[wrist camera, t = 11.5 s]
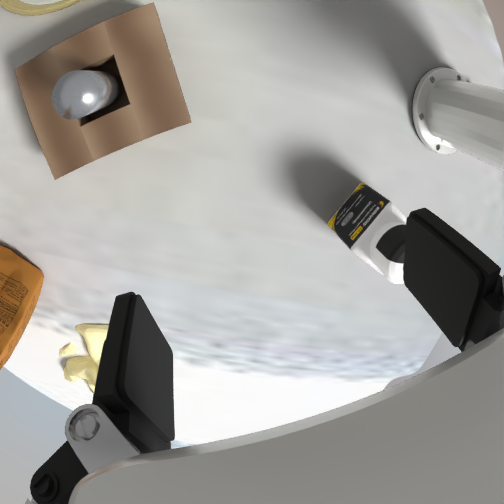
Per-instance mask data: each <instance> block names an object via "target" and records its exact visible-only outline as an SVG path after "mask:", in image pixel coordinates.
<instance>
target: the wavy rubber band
mask: <svg viewBox="0 0 504 504" xmlns="http://www.w3.org/2000/svg"><path fill="white" fill-rule="evenodd" d="M80 1H82V0H62V1H59V2H56V3H52V4H45V5H31V4H26V3H23V2H20V1H19V0H0V5H1V6H2V7H4V8H5V9H6V10H8V11H10V12H12V13H15V14H19V15H26V16H35V15H43V14H48V13H52V12H56V11H59V10H62V9H65V8H67V7H70V6H72V5H74V4H76V3H78V2H80Z"/></svg>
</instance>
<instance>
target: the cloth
mask: <svg viewBox="0 0 504 504" xmlns="http://www.w3.org/2000/svg"><path fill="white" fill-rule="evenodd" d="M108 327H109V325H93V324H81V325H77V326H76V327H75V329H76V331H77V332H79V333H80V334H81V335H82V336H83V337H84V339H85V342H86V344H87V349H88V352H89V355H90V356H80V357H73V358H70V359H68V361H67V362H66V366H65V367H64V368H63V369H64V377H65V379H66V380H68V381H71V382H75V381H77V380H78V379H79V378H82V379H86V380H87V382H88V385H89V387H90V388H91V389H92V391H93V393H94V389H95V384H96V378H97V373H98V368H99V363H100V358H101V353H102V348H103V344H104V341H105V340H106V336H107V331H108ZM77 351H78V349H77V347H75V346H74V345H72V344H71V343H70V344H68V345H67V346H65V347H63V348H61V349H60V351H59V355H60V356H61V355H70V354H76V353H77Z"/></svg>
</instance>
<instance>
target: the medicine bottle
mask: <svg viewBox="0 0 504 504" xmlns="http://www.w3.org/2000/svg"><path fill="white" fill-rule="evenodd" d="M406 220H407V218H406V217H405V216H404V215H403V214H402V213H401V211H400V210H399V209H398V208H397V207H396V206H395V205H394V204H393V203H392V202H391V201H389V200H388V199H387V198H385V197H384V196H382V195H381V194H379V193H378V192H376V191H375V190H374V189H372V188H371V187H369V186H368V185H366V184H365V183H363V182H361V183H360V184H359V185H358V186H357V187H356V189H355V190H354V191H353V192H352V193H351V195H350V196H349V197H348V198H347V200H346V201H345V202H344V203H343V204H342V206H341V207H340V208H339V209H338V210H337V212H336V213H335V214H334V215H333V217H332V218H331V219H330V220H329V221H328V226H329V227H330V228H331V229H332V230H333V231H334V232H335V233H336V234H337V235H338V237H339V238H340V239H341V240H342V241H343V242H344V243H345V244H346V245H347V247H348V248H349V249H350V250H351V251H352V252H353V253H355V254H356V255H357V256H359V257H360V258H361V259H363V260H364V261H365V262H366V263H368V264H369V265H370V266H372V267H373V268H374V269H375V270H377V271H378V272H379V273H380V274H382V275H384V276H385V277H386V278H387V279H388V280H389V281H390V282H392V283H395V284H401V283H404V281H403V270H404V257H405V240H406Z"/></svg>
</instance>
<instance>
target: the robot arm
mask: <svg viewBox="0 0 504 504" xmlns="http://www.w3.org/2000/svg"><path fill="white" fill-rule="evenodd" d="M413 120H414V125H415V128H416V131H417V134H418V136H419V138H420V139H421V141H422V142H423V143H424V145H425V146H426V147H427V148H429V149H430V150H432V151H434V152H436V153H439V154H442V155H449V154H453V153H455V152H457V151H458V150H459V151H461V152H463V153H466V154H468V155H470V156H473V157H475V158H477V159H479V160H481V161H484V162H486V163H488V164H490V165H492V166H494V167H496V168H498V169H500V170H502V171H504V90H501V89H497V88H493V87H488V86H484V85H479V84H474V83H469V82H467V81H466V79H465V78H464V77H463V76H462V75H461V74H460V73H458V72H457V71H455V70H453V69H450V68H443V67H442V68H435V69H432V70H430V71H429V72H427V73H426V74H425V75H424V76H423V77H422V78H421V80H420V82H419V83H418V85H417V88H416V91H415V94H414V99H413ZM500 270H501V268H500V267H499V266H498V265H497V264H496V263H494V262H493V261H492V260H491V259H490V258H489V257H488V256H486V255H485V254H484V253H483V252H482V251H480V250H479V249H478V248H477V247H476V246H474V245H473V244H472V243H471V242H470V241H468V240H467V239H466V238H465V237H463V236H462V235H461V234H460V233H458V232H457V231H456V230H455V229H453V228H452V227H451V226H449V225H448V224H447V223H446V222H444V221H443V220H442V219H440V218H439V217H438V216H436V215H435V214H434V213H432V212H431V211H429V210H428V209H426V208H422V209H418V210H415V211H412V212H410V214H409V217H407V220H406V240H405V257H404V270H403V281H404V284H405V286H406V287H407V288H408V289H409V291H410V292H411V293H412V294H413V295H414V297H415V298H416V299H417V300H418V301H419V303H420V304H421V305H422V306H423V308H424V309H425V310H426V311H427V312H428V314H429V315H430V316H431V317H432V319H433V320H434V321H435V323H436V324H437V325H438V326H439V328H440V329H441V330H442V331H443V333H444V334H445V335H446V337H447V338H448V339H449V341H450V342H451V343H452V345H453V346H455V347H459V349H460V350H461V353H460V354H458V355H456V356H454V357H452V358H450V359H448V360H447V361H445V362H443V363H441V364H439V365H437V366H435V367H433V368H431V369H429V370H427V371H425V372H423V373H421V374H418V375H416V376H414V377H412V378H410V379H408V380H406V381H404V382H401V383H399V384H397V385H394V386H392V387H390V388H387V389H385V390H383V391H380V392H378V393H375V394H373V395H370V396H368V397H365V398H363V399H360V400H358V401H355V402H352V403H350V404H347V405H344V406H342V407H339V408H336V409H333V410H330V411H327V412H324V413H321V414H318V415H315V416H312V417H309V418H306V419H302V420H299V421H296V422H292V423H289V424H286V425H282V426H278V427H275V428H271V429H267V430H263V431H259V432H255V433H251V434H247V435H243V436H238V437H234V438H229V439H224V440H219V441H214V442H209V443H204V444H199V445H193V446H188V447H182V448H175V449H171V442H170V441H173V440H174V438H175V430H174V399H173V353H172V350H171V347H170V346H169V344H168V342H167V341H166V339H165V337H164V336H163V334H162V332H161V331H160V329H159V327H158V325H157V324H156V322H155V320H154V318H153V317H152V315H151V313H150V311H149V309H148V308H147V306H146V304H145V302H144V300H143V299H142V297H141V296H140V295H139V294H138V295H135V293H134V292H129V293H125V294H122V295H118V296H116V298H115V302H114V306H113V310H112V314H111V319H110V323H109V327H108V331H107V336H106V340H105V341H104V344H103V348H102V353H101V358H100V363H99V368H98V373H97V378H96V384H95V389H94V395H93V402H92V404H85V405H82V406H79V407H78V408H76V409H75V410H74V411H73V412H72V413H71V414H70V415H69V417H68V419H67V421H66V425H65V435H66V438H67V441H66V443H64V444H63V445H62V446H61V447H60V448H59V449H58V450H57V451H56V452H55V453H54V454H53V455H52V456H51V457H50V458H49V460H47V461H46V462H45V463H44V464H43V465H42V466H41V467H40V468H39V469H38V470H37V471H36V472H35V474H34V475H33V477H32V480H31V485H30V490H31V495H32V497H33V498H32V500H30V499H27V501H26V503H25V504H504V276H503V277H501V276H500V275H499V274H500Z"/></svg>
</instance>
